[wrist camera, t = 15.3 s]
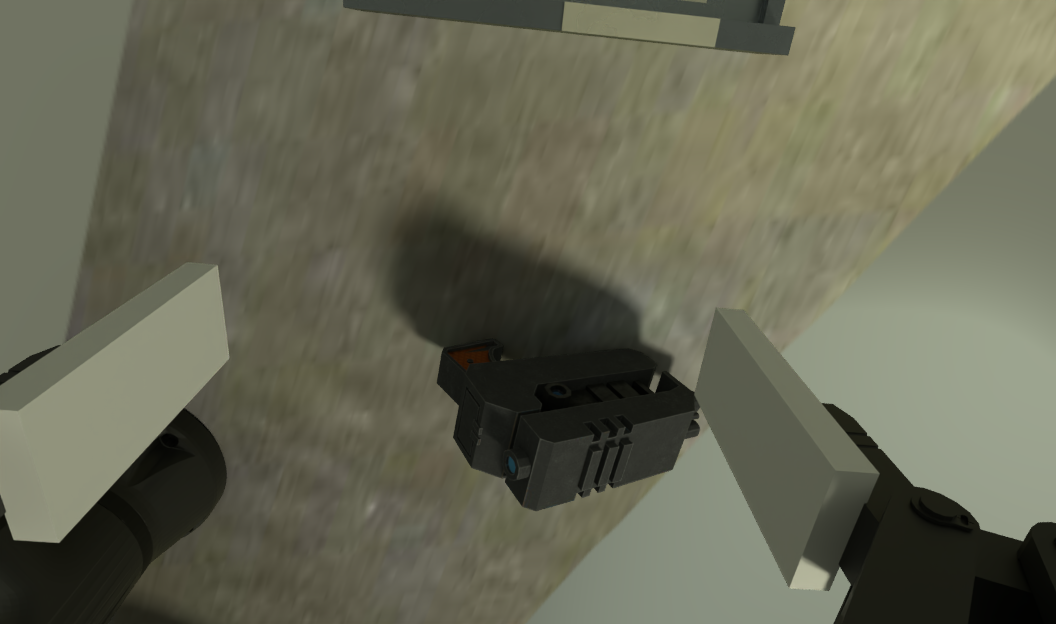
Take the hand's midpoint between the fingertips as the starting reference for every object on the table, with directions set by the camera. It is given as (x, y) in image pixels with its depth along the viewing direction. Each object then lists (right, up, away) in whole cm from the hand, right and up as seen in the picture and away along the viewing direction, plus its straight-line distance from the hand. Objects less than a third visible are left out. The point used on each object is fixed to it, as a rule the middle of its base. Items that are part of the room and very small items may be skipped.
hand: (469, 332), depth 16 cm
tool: (+5, -4, +34) cm, 34 cm away
